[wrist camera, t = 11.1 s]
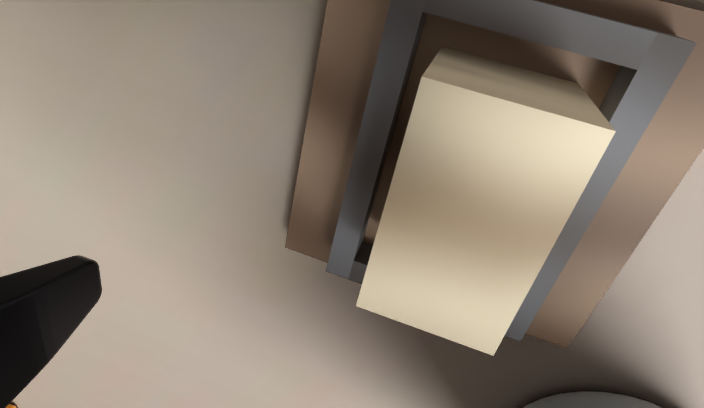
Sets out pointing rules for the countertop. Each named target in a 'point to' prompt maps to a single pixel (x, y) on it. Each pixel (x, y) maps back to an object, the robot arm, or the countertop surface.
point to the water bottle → (590, 401)
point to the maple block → (479, 196)
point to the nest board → (524, 52)
